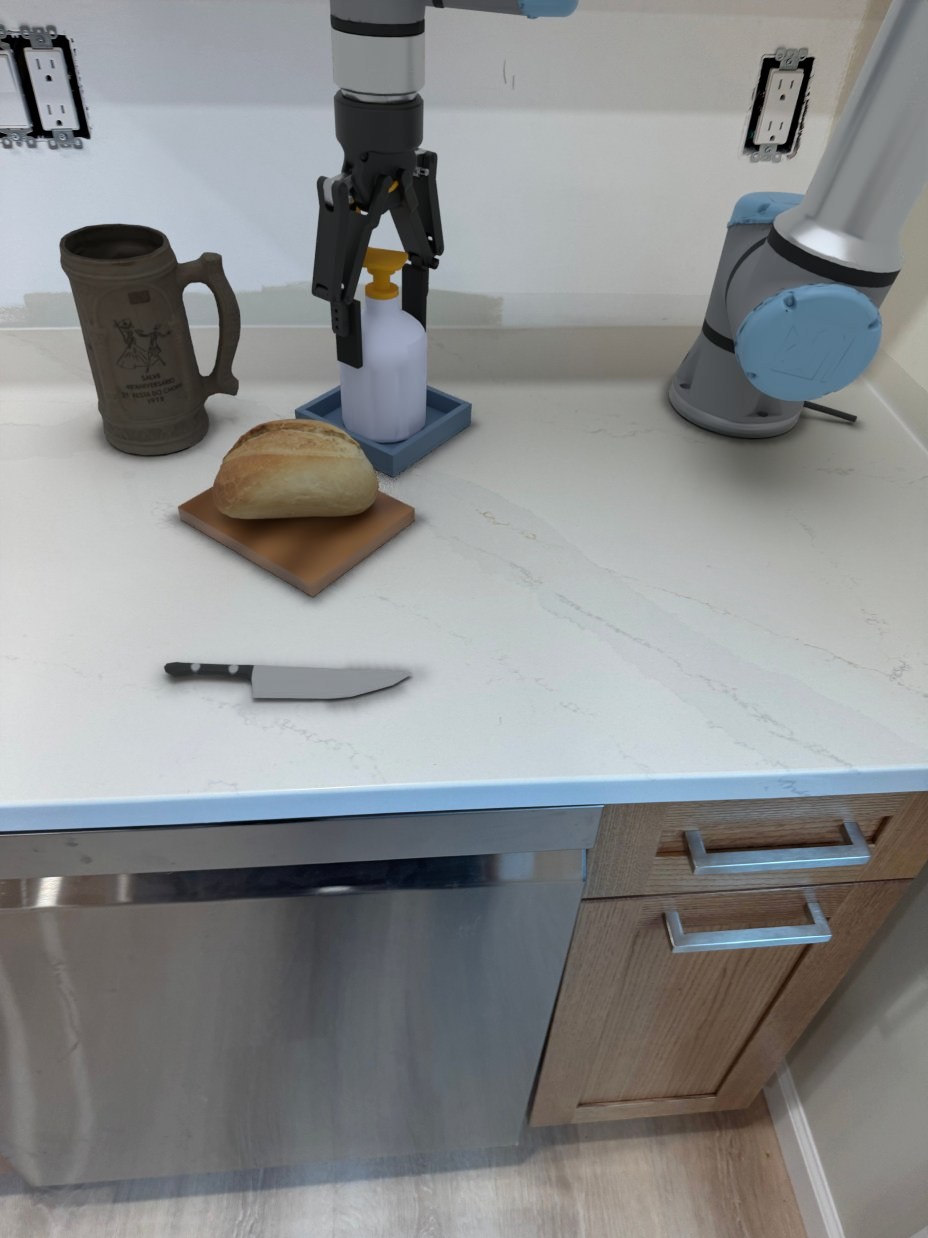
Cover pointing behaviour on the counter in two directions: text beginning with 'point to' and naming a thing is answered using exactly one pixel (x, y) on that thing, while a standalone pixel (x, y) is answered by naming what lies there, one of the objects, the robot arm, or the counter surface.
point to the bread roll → (294, 473)
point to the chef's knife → (295, 679)
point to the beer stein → (147, 334)
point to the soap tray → (394, 457)
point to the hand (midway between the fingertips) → (383, 345)
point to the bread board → (302, 538)
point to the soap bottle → (386, 359)
